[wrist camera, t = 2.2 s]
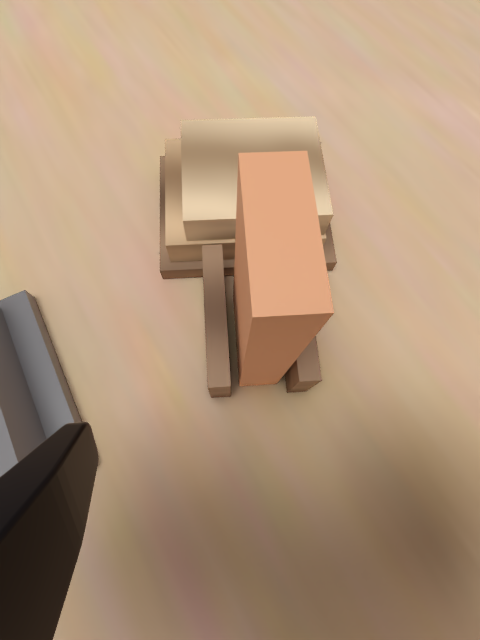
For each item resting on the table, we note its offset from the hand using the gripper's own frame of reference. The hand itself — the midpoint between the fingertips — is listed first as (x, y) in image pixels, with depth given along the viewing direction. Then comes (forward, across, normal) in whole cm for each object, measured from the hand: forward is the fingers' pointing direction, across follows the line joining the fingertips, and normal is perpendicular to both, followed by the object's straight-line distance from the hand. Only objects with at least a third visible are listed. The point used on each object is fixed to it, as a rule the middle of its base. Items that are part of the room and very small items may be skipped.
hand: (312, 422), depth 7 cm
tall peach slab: (+12, 0, +5) cm, 13 cm away
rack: (+15, 0, +1) cm, 15 cm away
